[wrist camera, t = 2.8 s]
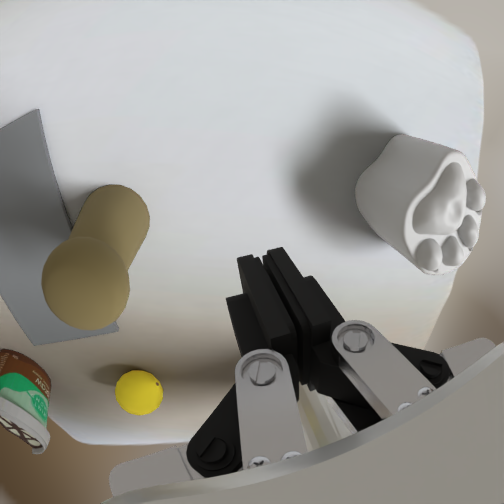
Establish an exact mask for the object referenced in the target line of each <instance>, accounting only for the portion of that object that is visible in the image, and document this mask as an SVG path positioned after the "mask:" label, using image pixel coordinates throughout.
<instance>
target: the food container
mask: <svg viewBox="0 0 504 504" xmlns="http://www.w3.org/2000/svg"><path fill="white" fill-rule="evenodd" d="M50 390H51V381H50V378H49V377H48V375H47V373H46V372H45V371H44V370H43V369H42V368H41V367H40V366H39V365H38V364H37V363H36V362H34V361H33V360H31V359H30V358H28V357H27V356H25V355H23V354H21V353H19V352H16V351H13V350H8V349H2V350H1V351H0V424H1V425H2V426H3V427H4V428H5V429H6V430H8V431H9V432H11V433H12V434H14V435H16V436H18V437H19V438H21V439H22V440H24V441H25V442H26V443H27V444H29V445H30V446H32V447H33V449H32V453H33V454H41V453H43V452H44V450H45V449H46V448H47V446H48V443H49V441H50V434H49V432H48V431H47V429H46V426H47V415H48V406H49V398H50Z"/></svg>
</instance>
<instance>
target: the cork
mask: <svg viewBox="0 0 504 504" xmlns="http://www.w3.org/2000/svg"><path fill="white" fill-rule="evenodd" d="M149 220H150V216H149V212H148V209H147V206H146V204H145V203H144V201H143V200H142V198H141V197H140V196H139V195H138V194H137V193H136V192H134V191H133V190H132V189H130V188H127V187H124V186H122V185H106V186H103V187H100V188H98V189H97V190H95V191H94V192H93V193H91V194H90V195H89V197H88V198H87V200H86V201H85V203H84V205H83V207H82V209H81V211H80V213H79V215H78V218H77V220H76V222H75V225H74V227H73V229H72V232H71V234H70V236H69V239H68V240H66V241H64V242H62V243H61V244H60V245H59V246H57V247H56V248H55V249H54V250H53V251H52V252H51V253H50V255H49V256H48V258H47V260H46V262H45V264H44V266H43V271H42V279H41V286H42V290H43V294H44V298H45V301H46V303H47V305H48V307H49V308H50V310H51V311H52V312H53V313H54V314H55V315H56V316H57V317H58V318H59V319H60V320H61V321H63V322H64V323H66V324H67V325H69V326H71V327H74V328H77V329H80V330H91V331H92V330H97V329H102V328H104V327H106V326H108V325H109V324H111V323H113V322H114V321H116V320H117V318H118V317H119V316H120V315H121V313H122V312H123V310H124V309H125V307H126V304H127V300H128V297H129V292H130V285H129V275H128V269H129V267H130V265H131V263H132V261H133V259H134V257H135V256H136V254H137V252H138V250H139V248H140V246H141V244H142V243H143V241H144V239H145V237H146V235H147V232H148V229H149Z"/></svg>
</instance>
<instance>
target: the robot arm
mask: <svg viewBox="0 0 504 504" xmlns="http://www.w3.org/2000/svg"><path fill="white" fill-rule="evenodd" d="M262 258H263V264H262V262H261V260H260V258H259V257H255V258H254V257H253V255H252V254H251V255H247V256H243V257H239V258H237V262H238V268H239V273H240V279H241V284H242V289H243V294H240V295H236V296H232V297H228V298H226V302H227V306H228V310H229V314H230V318H231V322H232V325H233V329H234V333H235V336H236V340H237V343H238V346H239V350H240V353H241V357H242V358H241V359H240V360H239V361H238V363H237V365H236V368H235V381H236V383H235V384H234V385H233V387H232V388H231V389H230V391H229V392H228V393H227V395H226V396H225V397H224V398H223V400H222V401H221V402H220V404H219V405H218V406H217V408H216V409H215V410H214V411H213V413H212V414H211V415H210V416H209V418H208V419H207V420H206V421H205V423H204V424H203V425H202V426H201V428H200V429H199V430H198V431H197V433H196V434H195V435H194V436H193V437H192V439H191V440H190V442H189V443H188V444H186V445H183V446H181V447H176V446H174V447H170V448H168V449H165V450H162V451H159V452H156V453H153V454H150V455H147V456H144V457H141V458H137V459H134V460H131V461H127V462H124V463H121V464H119V465H117V466H115V467H114V468H113V470H112V471H111V473H110V476H109V484H110V488H111V491H112V494H113V497H112V498H110V499H108V500H106V501H104V502H102V503H101V504H504V342H503V343H501V344H499V345H498V346H496V345H495V344H494V343H493V342H492V341H490V340H489V339H486V338H478V339H475V340H472V341H469V342H467V343H464V344H461V345H458V346H455V347H452V348H448V349H445V350H442V351H441V353H440V354H437V353H434V352H430V351H425V350H421V349H416V348H412V347H407V346H403V345H399V344H394V343H390V342H389V341H388V340H387V339H386V338H385V337H384V336H383V335H382V334H381V333H380V332H379V331H378V330H377V329H376V328H375V327H373V326H372V325H371V324H369V323H367V322H364V321H359V320H351V321H346V322H345V320H344V319H343V317H342V316H341V315H340V313H339V312H338V310H337V309H336V308H335V306H334V305H333V303H332V302H331V300H330V299H329V298H328V296H327V295H326V293H325V292H324V291H323V289H322V288H321V287H320V285H319V284H318V282H317V281H316V280H315V278H314V277H313V276H307V277H304V278H303V276H302V275H301V273H300V272H299V270H298V269H297V267H296V266H295V264H294V263H293V262H292V260H291V259H290V257H289V256H288V254H287V253H286V251H285V250H284V248H283V247H280V248H276V249H271V250H267V255H264V256H263V257H262Z"/></svg>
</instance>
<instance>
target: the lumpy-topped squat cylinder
mask: <svg viewBox="0 0 504 504" xmlns="http://www.w3.org/2000/svg"><path fill="white" fill-rule="evenodd" d="M355 200H356V204H357V207H358V209H359V211H360V213H361V214H362V216H363V217H364V219H365V220H366V222H367V223H368V224H369V226H370V227H371V228H372V229H373V230H374V231H375V233H376V234H377V235H378V236H379V237H381V238H382V239H383V240H384V241H385V242H387V243H388V244H389V245H391V246H392V247H393V248H394V249H395V250H397V251H398V252H399V253H400V254H402V255H403V256H404V257H405V258H407V259H408V260H409V261H410V262H411V263H413V264H414V265H415V266H416V267H417V268H418V269H420V270H421V271H422V272H423V273H425V274H429V275H444V274H447V273H449V272H451V271H453V270H455V269H456V268H458V267H459V266H460V265H462V264H463V262H464V261H465V260H466V258H467V257H468V255H469V254H470V252H471V251H472V250H473V249H472V248H473V246H474V245H475V244H476V242H477V240H478V237H479V228H480V222H481V214H482V208H483V207H484V204H485V202H486V195H485V192H484V190H483V188H482V186H481V185H480V184H479V183H478V182H477V179H476V176H475V173H474V171H473V169H472V167H471V165H470V163H469V161H468V159H467V158H466V156H465V155H464V154H463V153H462V152H460V151H458V150H455V149H452V148H449V147H446V146H443V145H440V144H437V143H433V142H430V141H427V140H423V139H420V138H416V137H412V136H408V135H404V134H399V135H396V136H394V137H393V138H392V139H391V140H390V141H389V142H388V143H387V145H386V146H385V148H384V150H383V151H382V153H381V155H380V156H379V157H378V158H377V160H376V161H375V162H374V163H372V164H371V165H370V166H369V167H368V168H367V169H366V170H365V171H364V172H363V173H362V174H361V175H360V177H359V179H358V181H357V184H356V188H355Z"/></svg>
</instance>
